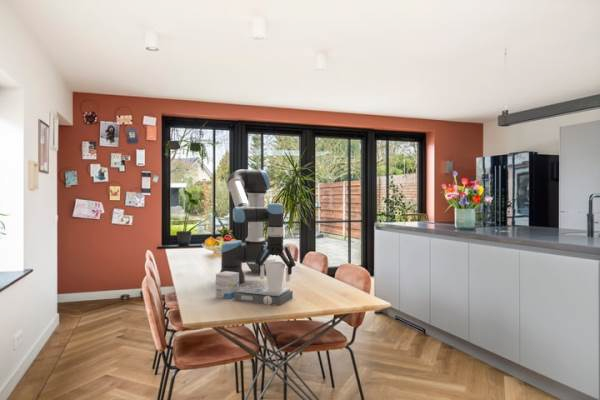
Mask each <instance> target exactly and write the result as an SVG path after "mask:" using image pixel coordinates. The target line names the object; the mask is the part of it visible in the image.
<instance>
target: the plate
mask: <svg viewBox="0 0 600 400" xmlns="http://www.w3.org/2000/svg"><path fill="white" fill-rule="evenodd" d="M288 291H291V289H290V287H283V286H282V289H281V291H278V292H272V291H268V285H262V284H251V283H250V284H248V285H247V284H246V285H245V286H243V287H239V289H237V292H244V293H253V294H262V295H271V296H280V295H282V294H284V293H286V292H288Z"/></svg>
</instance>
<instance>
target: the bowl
mask: <svg viewBox="0 0 600 400" xmlns="http://www.w3.org/2000/svg"><path fill="white" fill-rule="evenodd" d="M272 261H276V257H275V255H270V256H269V257H268V258H267V260H266V261H265V262H264V263H263V265H264V274H266V269H265V263H266V262H272ZM245 264H246V265H247V266H248V269H249V270H251V273H252V274H256V275H257V274H258V275H260V272H259V265H258V264H255V262H250V263H245Z"/></svg>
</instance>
